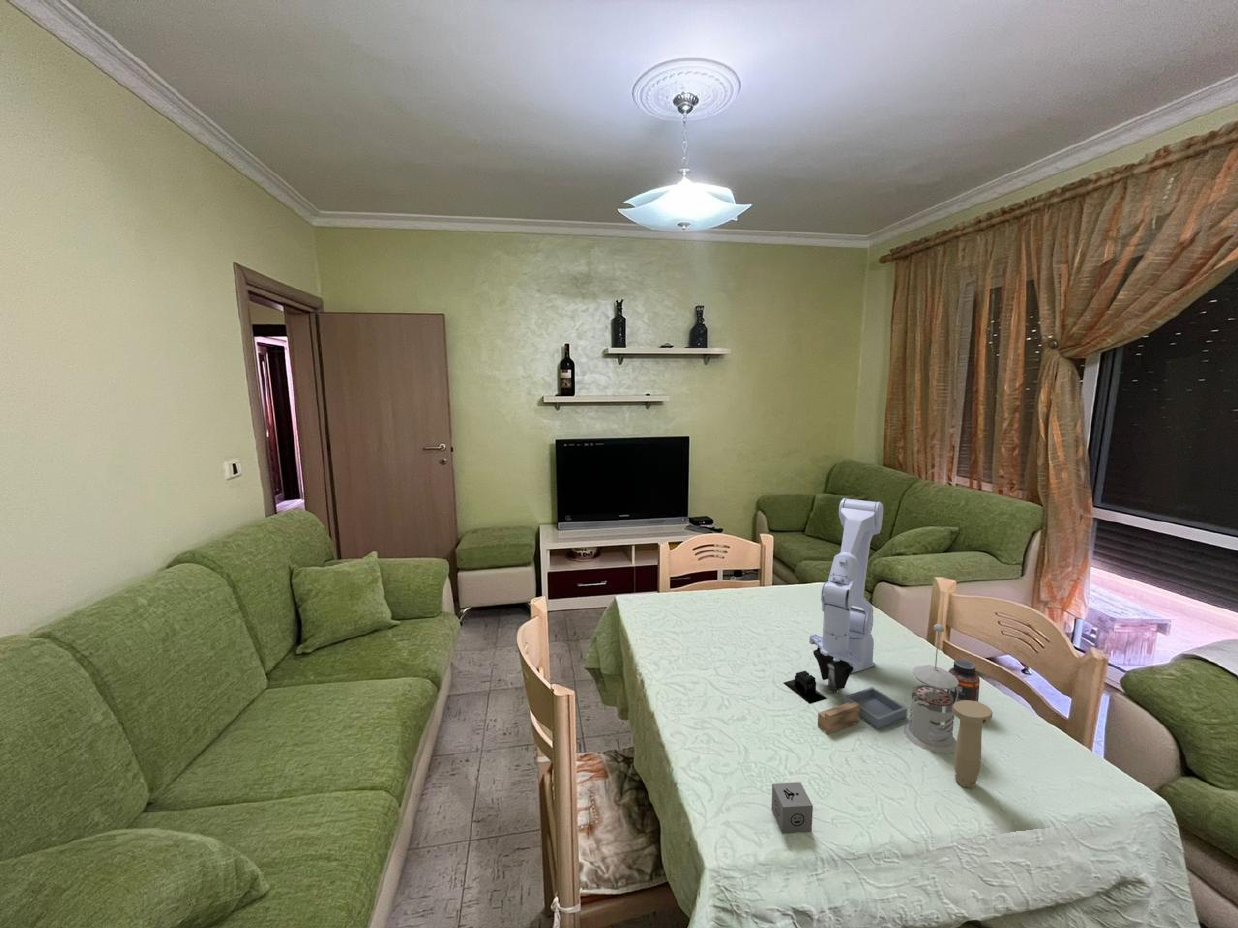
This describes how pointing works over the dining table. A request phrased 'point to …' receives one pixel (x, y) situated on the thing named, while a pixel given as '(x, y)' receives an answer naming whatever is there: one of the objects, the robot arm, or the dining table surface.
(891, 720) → the tray
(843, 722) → the bar
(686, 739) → the dining table surface
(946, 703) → the french press
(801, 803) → the dice cube
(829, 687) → the pin
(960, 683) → the supplement bottle
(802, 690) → the build plate
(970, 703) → the handle
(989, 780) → the dining table surface
